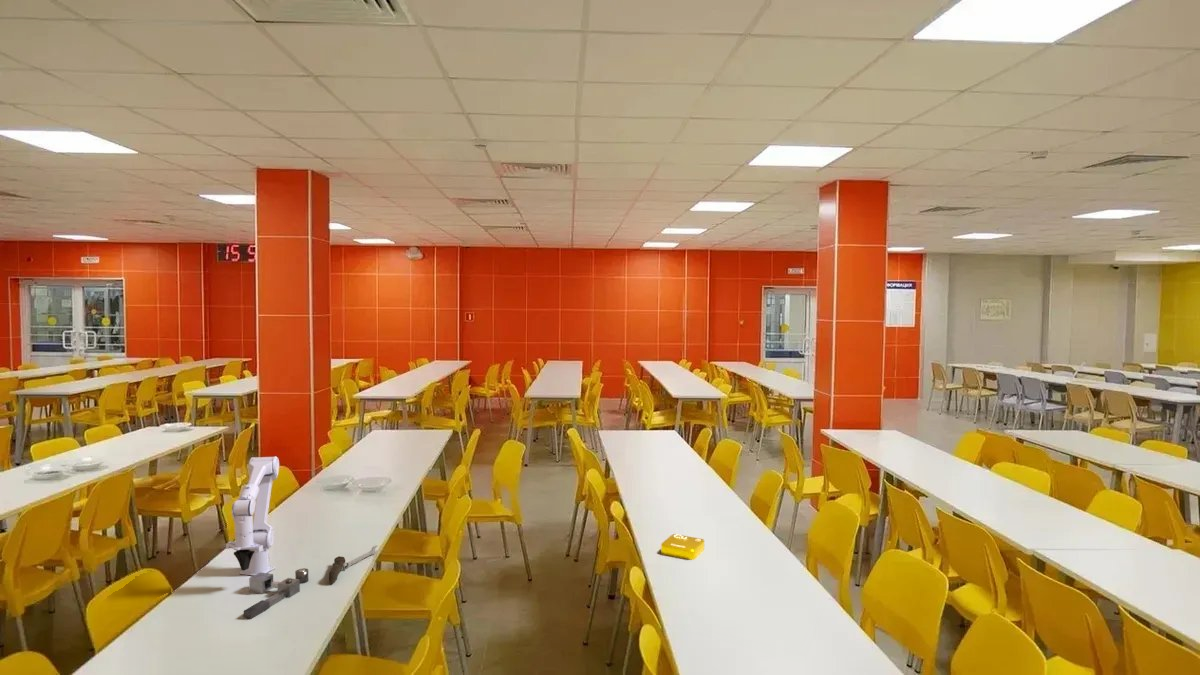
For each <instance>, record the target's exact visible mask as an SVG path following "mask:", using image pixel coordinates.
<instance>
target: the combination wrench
mask: <svg viewBox="0 0 1200 675" xmlns="http://www.w3.org/2000/svg"><path fill="white" fill-rule="evenodd" d="M377 547H379V545H373V546H372V548H371V549H370V551H368V552H366V553H365V552H364V554H361V555H359V556H358V557H356V558H354V559H352V560H350V561H348V562H345V563H344V564H343V566H342V568H341V570H343V571H347V570H348V569H349V568H350V567H351V566H352V565H354V564H355V563H358V562H360V561H362V560H363V559H365V558H367V557H369V556H371V555H372V556H375V555H378V553H379V550H380V549H377V550H376V548H377ZM345 566H346V567H345Z"/></svg>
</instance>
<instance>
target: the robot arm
mask: <svg viewBox="0 0 1200 675" xmlns="http://www.w3.org/2000/svg"><path fill="white" fill-rule="evenodd" d="M248 471H249V474H250V475H249V478H248V482H247V484H245V485H243V487H242V488H241V491H240V494H239V495H238V496H239V497H237V499H236V500H235V501H233V502H232V505H231V515H232V520H233V522H234V539H235V540H234V541H228V542H227V543H225V549H226V550H227V549H228V550H229V549H233V550H234V552H233V555H234V557H235V558H236V559H237V560H236V561H238V564H239V567H240V569H241V570H240V572H239V575H247V576H251V577H253V576H254V575H256V574H258V573H260V572H261V573H269V572H271V571H273V570H274V569H276V567H275V566H270V549H271V547H272V546H273V544H274V538H275V534H274V527H273V526H272V525H270V524H269V523H268V515H269V510H270V501H271V494H272V493H271V492H272V487H273V482H274V480H276V479H278V476H279V471H280V460H279V457H277V456H276V455H275V456H262V457H259V456H258V457H257V456H256V457H254V456H252V457H251V458H250V459H249V461H248Z"/></svg>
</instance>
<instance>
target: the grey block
mask: <svg viewBox="0 0 1200 675" xmlns="http://www.w3.org/2000/svg"><path fill="white" fill-rule="evenodd" d="M272 582H274V573H269V572H267V573H261V572H260V573H258V574H256V575H254V576H250V577H249V586H248V587H249V593H252V594H253V593H254V594H260V595H261V594H262V595H264V594H265V593H267V592H268V591H270V590H272V589H273V588H271V583H272Z"/></svg>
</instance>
